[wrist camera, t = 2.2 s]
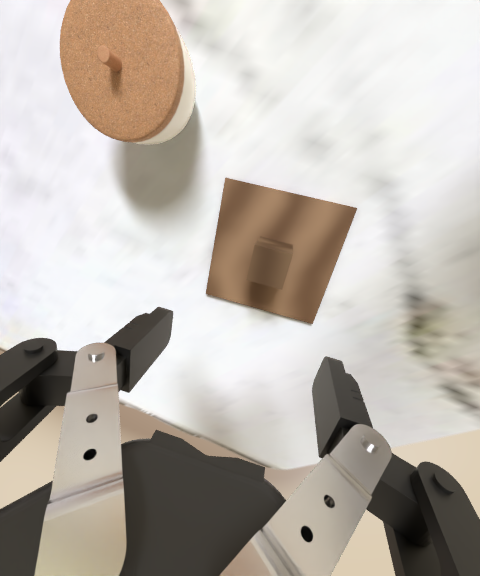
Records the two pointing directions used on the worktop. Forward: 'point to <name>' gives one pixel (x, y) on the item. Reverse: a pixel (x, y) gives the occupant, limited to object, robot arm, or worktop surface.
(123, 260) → the worktop surface
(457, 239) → the worktop surface
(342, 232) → the walnut lid
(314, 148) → the worktop surface
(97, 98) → the lidded jar
